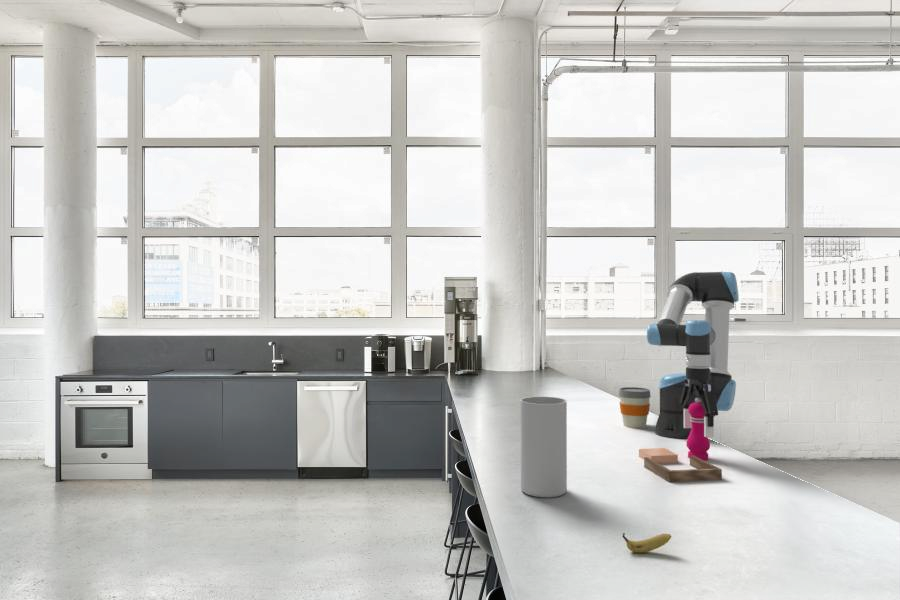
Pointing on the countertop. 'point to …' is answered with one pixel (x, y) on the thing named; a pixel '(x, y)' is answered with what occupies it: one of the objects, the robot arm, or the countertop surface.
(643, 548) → the banana
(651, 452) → the terracotta tile
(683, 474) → the walnut frame
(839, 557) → the countertop surface
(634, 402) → the reusable coffee cup
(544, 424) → the cylinder vase
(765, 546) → the countertop surface
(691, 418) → the pepper mill
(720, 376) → the robot arm
